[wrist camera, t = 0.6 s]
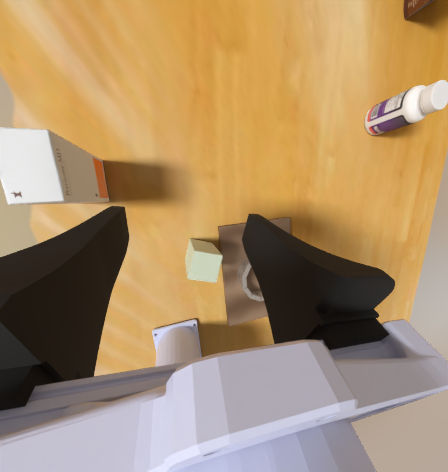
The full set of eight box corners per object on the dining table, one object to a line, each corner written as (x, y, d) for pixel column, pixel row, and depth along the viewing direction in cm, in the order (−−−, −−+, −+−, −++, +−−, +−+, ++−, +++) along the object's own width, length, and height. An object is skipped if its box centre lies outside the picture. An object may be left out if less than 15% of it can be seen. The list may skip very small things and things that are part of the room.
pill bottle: (386, 129, 38) (455, 106, 28) (366, 140, 37) (430, 121, 28) (381, 101, 36) (452, 67, 27) (360, 112, 35) (426, 82, 26)
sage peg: (211, 242, 33) (222, 255, 25) (206, 263, 33) (215, 282, 26) (189, 238, 31) (194, 250, 24) (184, 260, 32) (187, 278, 24)
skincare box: (111, 201, 27) (66, 203, 16) (78, 203, 26) (5, 206, 15) (103, 158, 26) (48, 127, 15) (68, 158, 25) (-20, 125, 14)
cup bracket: (288, 307, 40) (298, 317, 37) (227, 323, 37) (232, 335, 33) (287, 217, 36) (298, 218, 32) (218, 226, 32) (222, 229, 29)
